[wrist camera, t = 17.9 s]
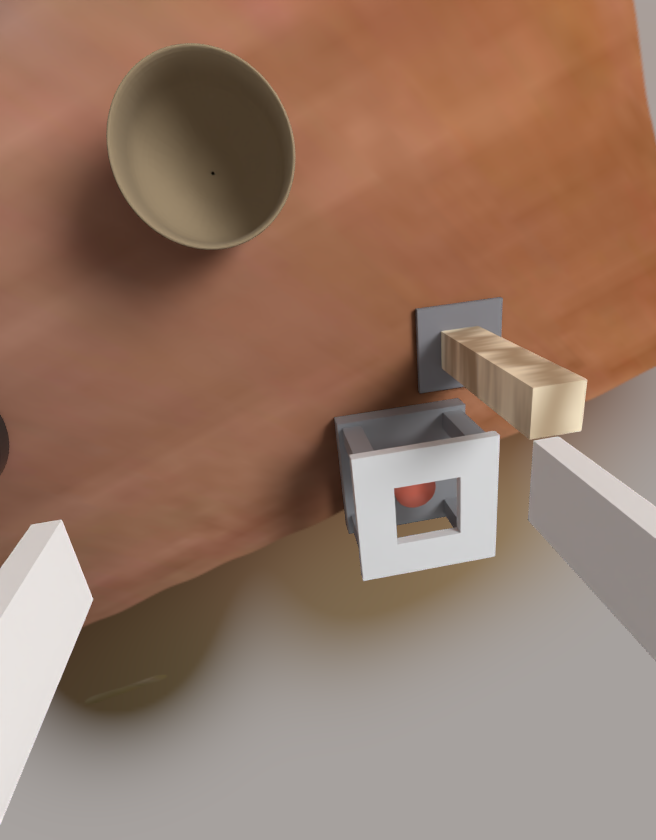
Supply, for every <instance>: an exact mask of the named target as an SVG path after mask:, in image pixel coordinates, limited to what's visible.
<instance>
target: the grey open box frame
mask: <svg viewBox="0 0 656 840" xmlns="http://www.w3.org/2000/svg"><path fill="white" fill-rule="evenodd" d="M334 421H335V430H336V439H337V448H338V457H339V466H340V475H341V484H342V493H343V502H344V511H345V520H346V525H347V529H348V532H349V534H350V533H354V535H355V537H356V541H357V544H358V547H359V555H360V566H361V575H362V578H363V581H366V580H371V579H376V578H382V577H387V576H392V575H398V574H403V573H409V572H414V571H419V570H424V569H430V568H435V567H440V566H446V565H451V564H456V563H461V562H467V561H472V560H477V559H483V558H488V557H493V556H495V546H496V520H497V495H498V494H497V493H498V469H499V468H498V466H499V443H500V435H499V434H498V433H497V432H496V431H491V432H484V431H483V430H482V429H481V428H480V427H479V426H478V425H477V424H476V423H475V422H474V421H473V420H471V419H470V418H469V417H468V416H467V415H466V414H465V404H464V403H463V402H462V401H461V400H460V399H458V398H455V399H449V400H442V401H436V402H430V403H423V404H417V405H410V406H404V407H398V408H391V409H385V410H379V411H372V412H366V413H359V414H353V415H347V416H340V417H334ZM434 481H435V484H436V489H435V493H434V495H433V497H432V498H431V499H430V500H429V501H428V502H427V503H426V504H424V505H422V506H419V507H415V508H410V507H405V506H403V505H401V504H400V503H399V502H398V501H397V499H396V497H395V495H394V488H400V487H405V486H411V485H417V484H423V483H429V482H434ZM445 516H446V517H447V518H448V520H449V522H450V523H451V525H452V526H453V528H450V529H444V530H438V531H433V532H427V533H422V534H416V535H411V536H405V537H400V538H397V528H396V525H401V524H407V523H412V522H418V521H423V520H429V519H434V518H439V517H445Z"/></svg>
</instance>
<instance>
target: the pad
mask: <svg viewBox="0 0 656 840" xmlns="http://www.w3.org/2000/svg"><path fill="white" fill-rule="evenodd" d="M502 300H503V298H501V297H497V298H490V299H483V300H476V301H468V302H461V303H454V304H447V305H439V306H432V307H425V308H418V309H416V338H417V367H418V392H419V393H425V392H432V391H438V390H445V389H451V388H458V387H464V386H463V385H462V384H460V383H459V382H458V381H457V380H456V379H454V378H453V377H452V376H451V375H449V374H448V373H447V372H446V371H444V370H443V369H442V361H441V331H446V330H453V329H460V328H467V327H474V326H479V327H481V328H483V329H485V330H488V331H490V332H492V333H494V334H496V335H498V336H500V337H501V328H502Z"/></svg>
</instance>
